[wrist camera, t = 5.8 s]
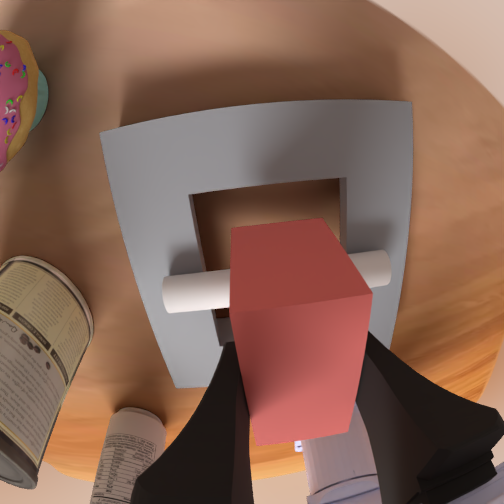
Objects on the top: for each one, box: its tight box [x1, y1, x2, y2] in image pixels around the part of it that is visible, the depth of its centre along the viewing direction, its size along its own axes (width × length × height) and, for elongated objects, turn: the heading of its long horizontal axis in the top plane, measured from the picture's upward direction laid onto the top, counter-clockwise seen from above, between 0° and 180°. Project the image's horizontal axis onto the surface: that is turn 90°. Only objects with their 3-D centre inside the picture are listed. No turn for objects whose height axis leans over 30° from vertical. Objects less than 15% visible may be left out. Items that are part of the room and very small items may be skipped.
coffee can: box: [0, 256, 94, 489], centre depth 15 cm, size 10×10×14 cm
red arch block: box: [229, 218, 373, 446], centre depth 13 cm, size 8×4×6 cm, turn 6°
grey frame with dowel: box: [100, 99, 413, 388], centre depth 18 cm, size 18×16×5 cm
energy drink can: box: [90, 407, 166, 504], centre depth 22 cm, size 6×6×15 cm
